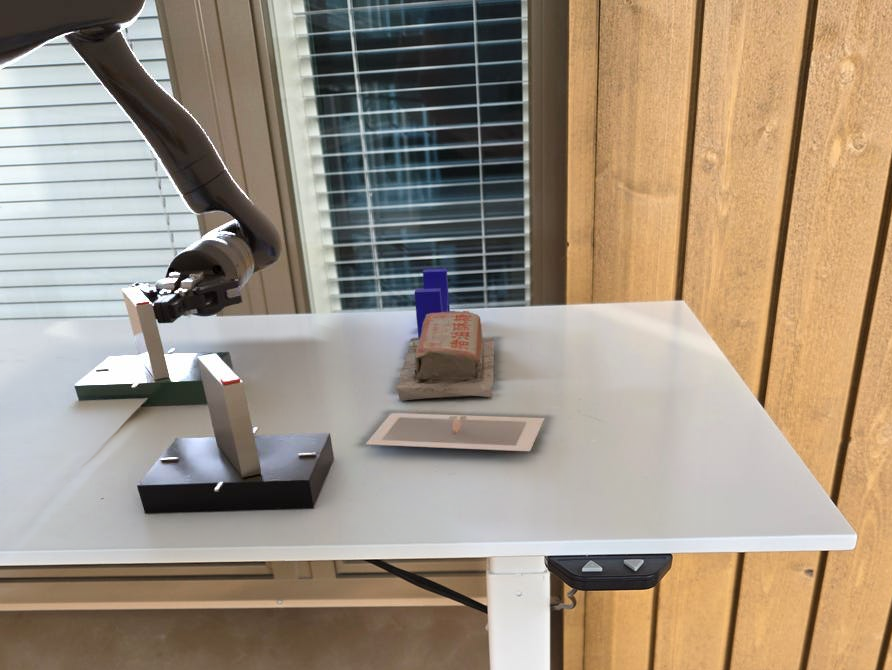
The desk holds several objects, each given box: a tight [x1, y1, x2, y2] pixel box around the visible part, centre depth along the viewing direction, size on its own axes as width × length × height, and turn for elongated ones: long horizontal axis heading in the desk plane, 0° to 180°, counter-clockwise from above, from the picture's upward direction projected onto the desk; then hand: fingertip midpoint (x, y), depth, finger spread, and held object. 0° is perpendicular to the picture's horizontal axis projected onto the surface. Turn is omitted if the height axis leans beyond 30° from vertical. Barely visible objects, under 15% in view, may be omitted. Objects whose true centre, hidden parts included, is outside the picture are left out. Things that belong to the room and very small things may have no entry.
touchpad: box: [365, 412, 545, 452], centre depth 81 cm, size 8×15×2 cm, turn 77°
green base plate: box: [73, 348, 235, 407], centre depth 97 cm, size 14×13×3 cm
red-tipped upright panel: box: [197, 352, 261, 478], centre depth 72 cm, size 9×2×8 cm, turn 27°
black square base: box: [136, 426, 335, 514], centre depth 75 cm, size 14×13×3 cm
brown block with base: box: [396, 310, 495, 401], centre depth 97 cm, size 18×5×10 cm
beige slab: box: [121, 287, 170, 380], centre depth 95 cm, size 9×2×8 cm, turn 27°
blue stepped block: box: [413, 268, 456, 338], centre depth 111 cm, size 12×4×6 cm, turn 178°
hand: (162, 313), depth 94 cm, fingers closed
